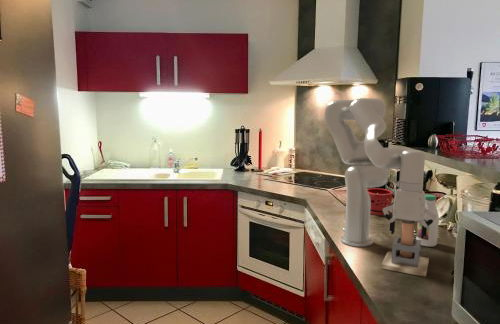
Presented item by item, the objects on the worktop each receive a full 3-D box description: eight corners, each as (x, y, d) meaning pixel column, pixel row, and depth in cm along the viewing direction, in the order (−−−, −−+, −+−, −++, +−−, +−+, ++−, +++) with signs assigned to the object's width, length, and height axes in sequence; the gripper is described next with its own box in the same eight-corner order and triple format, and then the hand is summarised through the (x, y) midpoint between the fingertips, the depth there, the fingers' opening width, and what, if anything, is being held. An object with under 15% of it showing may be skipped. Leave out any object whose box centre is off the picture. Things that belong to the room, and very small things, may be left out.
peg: (396, 259, 141) (399, 215, 139) (406, 258, 142) (409, 214, 140) (404, 264, 137) (407, 218, 135) (414, 262, 138) (417, 217, 136)
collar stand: (381, 268, 137) (382, 244, 136) (387, 255, 149) (388, 233, 148) (425, 276, 131) (427, 251, 129) (428, 262, 143) (430, 239, 142)
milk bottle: (431, 240, 166) (434, 193, 163) (440, 247, 158) (444, 197, 155) (412, 240, 166) (416, 193, 163) (421, 247, 158) (424, 197, 155)
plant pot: (359, 211, 210) (360, 189, 209) (378, 209, 216) (379, 187, 214) (376, 218, 199) (378, 194, 197) (396, 215, 204) (398, 192, 202)
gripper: (382, 186, 137) (379, 234, 139) (438, 191, 129) (434, 242, 131) (385, 182, 143) (383, 228, 146) (439, 187, 135) (435, 236, 138)
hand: (407, 235), depth 138 cm, fingers open, 9 cm apart
